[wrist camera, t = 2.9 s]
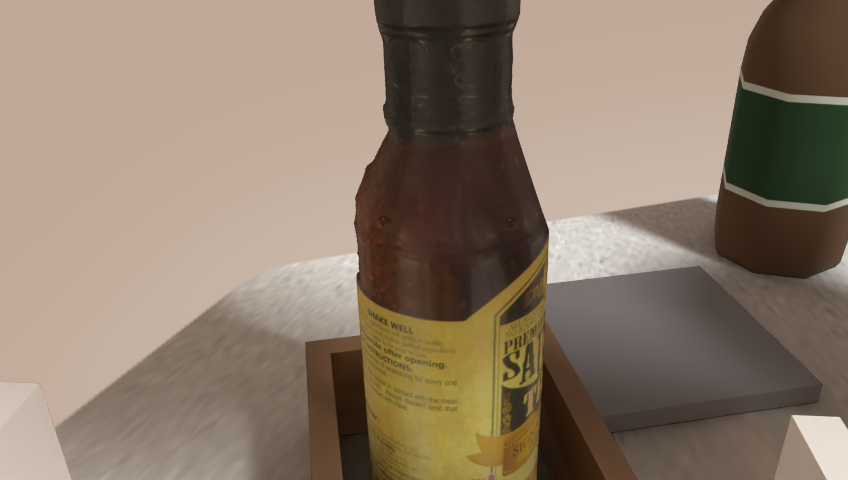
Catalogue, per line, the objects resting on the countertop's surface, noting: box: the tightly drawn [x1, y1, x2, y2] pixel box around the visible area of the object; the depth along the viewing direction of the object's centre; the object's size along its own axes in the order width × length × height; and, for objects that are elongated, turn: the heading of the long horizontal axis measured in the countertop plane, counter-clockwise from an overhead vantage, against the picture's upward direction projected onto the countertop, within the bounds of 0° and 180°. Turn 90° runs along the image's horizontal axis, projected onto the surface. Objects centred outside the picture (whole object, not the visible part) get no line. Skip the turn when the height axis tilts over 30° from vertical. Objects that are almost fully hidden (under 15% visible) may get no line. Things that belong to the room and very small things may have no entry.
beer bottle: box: [714, 0, 848, 278], centre depth 40 cm, size 8×8×24 cm
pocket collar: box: [305, 320, 638, 480], centre depth 27 cm, size 10×11×4 cm
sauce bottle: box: [354, 0, 549, 480], centre depth 24 cm, size 6×6×20 cm
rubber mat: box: [545, 266, 823, 433], centre depth 37 cm, size 11×11×1 cm
